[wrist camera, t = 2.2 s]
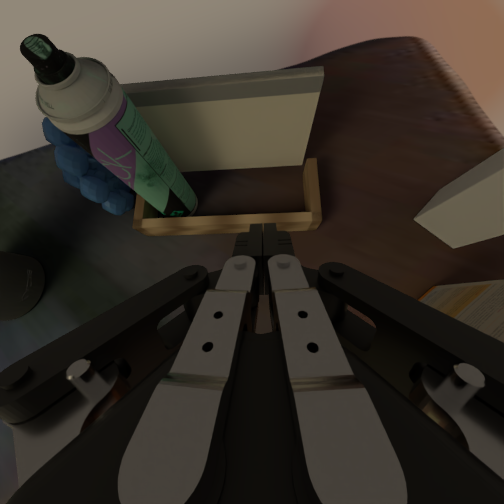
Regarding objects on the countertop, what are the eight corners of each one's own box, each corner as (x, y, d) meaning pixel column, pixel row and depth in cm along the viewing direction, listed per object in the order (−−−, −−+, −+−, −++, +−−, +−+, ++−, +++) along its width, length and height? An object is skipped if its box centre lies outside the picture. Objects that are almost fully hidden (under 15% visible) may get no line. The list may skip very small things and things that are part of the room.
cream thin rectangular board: (160, 175, 31) (91, 96, 19) (161, 167, 32) (93, 83, 19) (301, 167, 30) (324, 76, 18) (300, 159, 30) (322, 62, 18)
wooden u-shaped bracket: (147, 236, 30) (132, 227, 27) (153, 182, 32) (139, 168, 29) (315, 230, 29) (322, 220, 25) (310, 173, 31) (316, 158, 27)
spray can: (166, 186, 32) (8, 9, 13) (200, 188, 31) (91, 7, 12) (158, 220, 31) (-29, 81, 11) (194, 222, 30) (61, 83, 11)
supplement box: (417, 361, 24) (582, 429, 11) (385, 327, 25) (504, 353, 12) (466, 315, 25) (675, 331, 12) (433, 284, 26) (593, 267, 13)
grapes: (93, 172, 34) (1, 103, 22) (132, 156, 34) (61, 80, 22) (109, 235, 31) (12, 195, 19) (151, 217, 31) (80, 167, 19)
